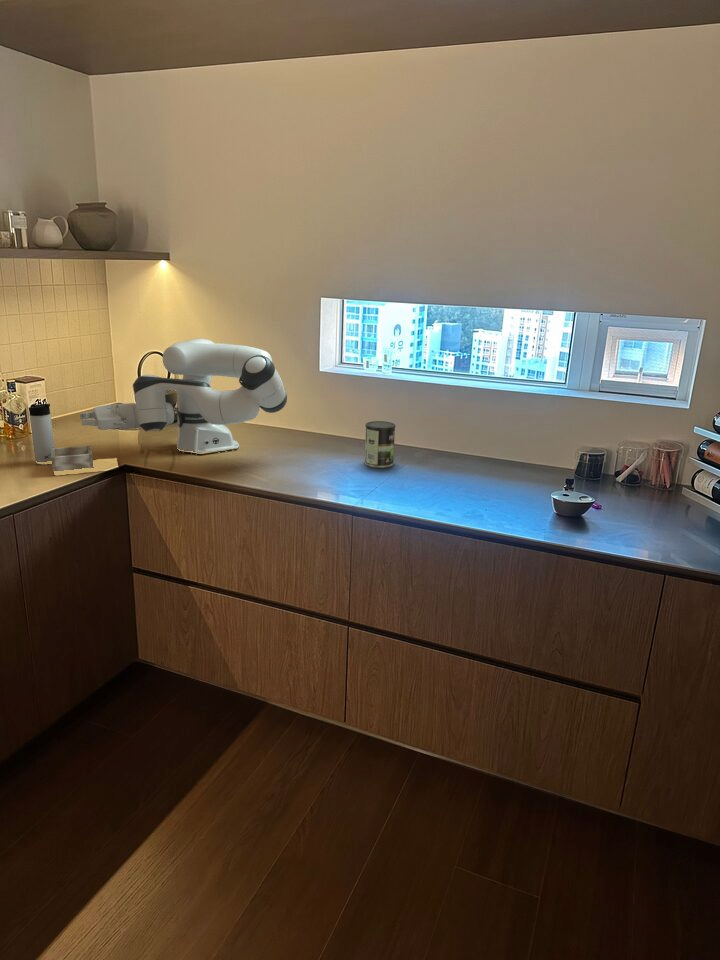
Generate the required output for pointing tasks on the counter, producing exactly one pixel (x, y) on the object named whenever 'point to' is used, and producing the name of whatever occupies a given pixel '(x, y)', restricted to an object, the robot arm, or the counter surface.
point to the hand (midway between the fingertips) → (80, 419)
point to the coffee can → (379, 444)
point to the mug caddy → (71, 458)
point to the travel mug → (41, 432)
